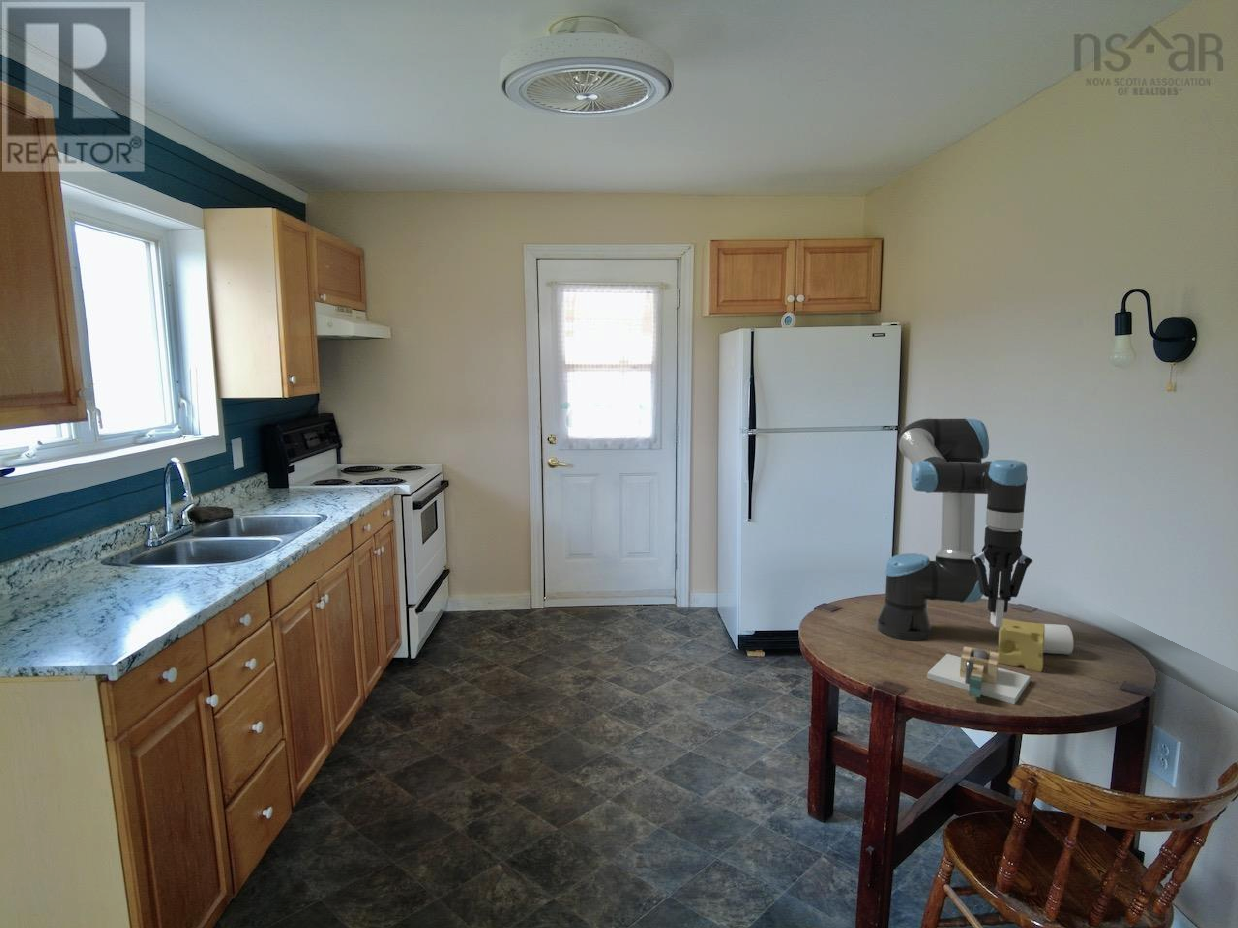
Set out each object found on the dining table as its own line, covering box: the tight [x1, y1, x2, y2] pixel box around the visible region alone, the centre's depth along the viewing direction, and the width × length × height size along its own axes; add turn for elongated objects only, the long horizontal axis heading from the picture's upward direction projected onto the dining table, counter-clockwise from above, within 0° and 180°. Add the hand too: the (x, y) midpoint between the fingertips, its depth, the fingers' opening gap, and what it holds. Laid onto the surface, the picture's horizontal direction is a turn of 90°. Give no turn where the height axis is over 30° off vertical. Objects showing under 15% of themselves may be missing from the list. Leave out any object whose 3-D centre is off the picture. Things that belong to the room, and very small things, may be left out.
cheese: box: [998, 617, 1045, 673], centre depth 182 cm, size 10×11×10 cm
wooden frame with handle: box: [960, 646, 999, 698], centre depth 167 cm, size 18×8×5 cm, turn 148°
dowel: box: [965, 661, 973, 684], centre depth 167 cm, size 1×1×6 cm
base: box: [926, 648, 1031, 705], centre depth 171 cm, size 20×16×8 cm
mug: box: [1040, 623, 1074, 656], centre depth 189 cm, size 12×10×8 cm
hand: (996, 624), depth 158 cm, fingers closed
